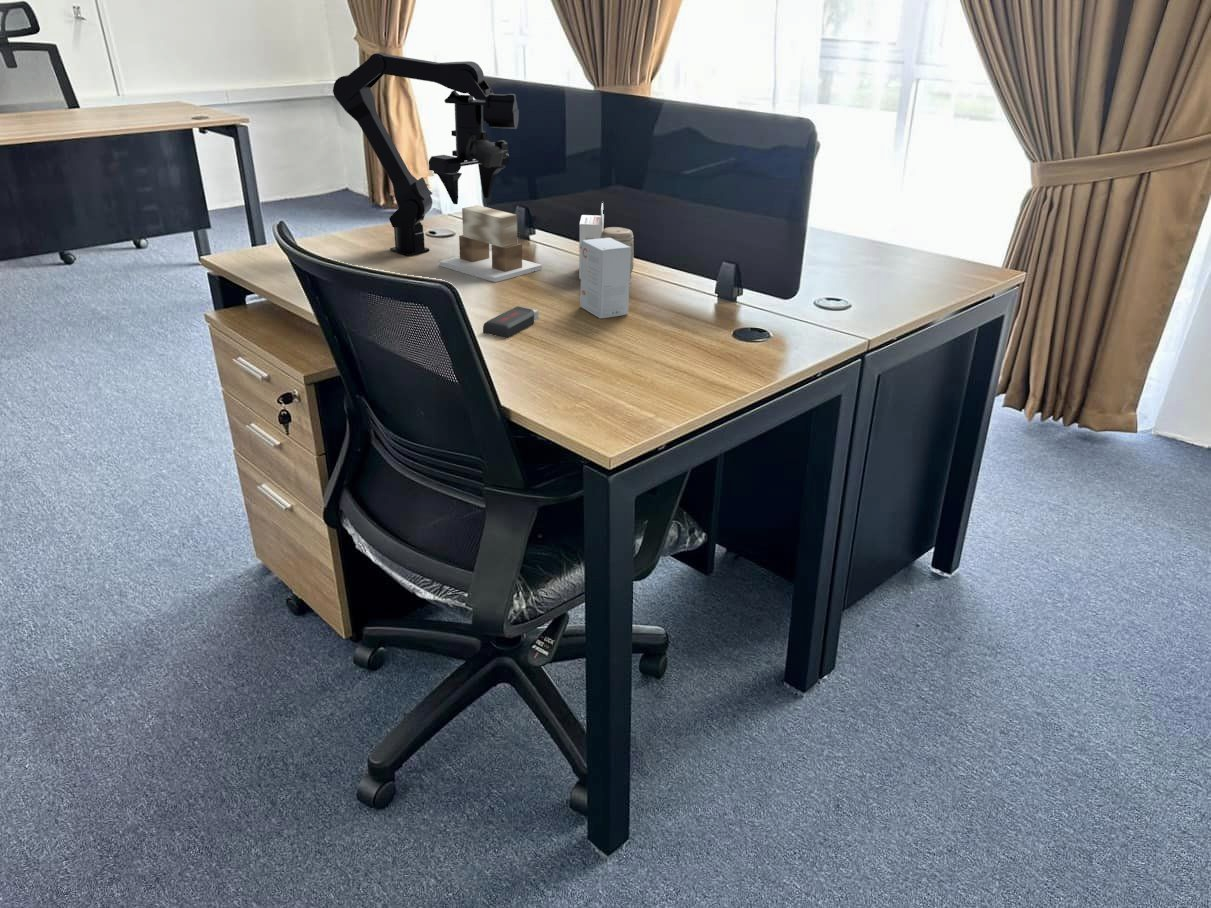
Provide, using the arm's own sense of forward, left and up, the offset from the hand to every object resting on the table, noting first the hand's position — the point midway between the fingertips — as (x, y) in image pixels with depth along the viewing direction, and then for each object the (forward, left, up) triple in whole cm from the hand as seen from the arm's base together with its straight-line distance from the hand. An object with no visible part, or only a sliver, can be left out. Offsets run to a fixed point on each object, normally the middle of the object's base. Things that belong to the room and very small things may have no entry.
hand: (471, 201), depth 206 cm
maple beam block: (+10, -4, -6) cm, 12 cm away
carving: (+38, +4, -12) cm, 40 cm away
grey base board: (+10, -4, -12) cm, 16 cm away
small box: (+46, -9, -12) cm, 48 cm away
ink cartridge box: (+28, +8, -12) cm, 32 cm away
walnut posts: (+10, -4, -12) cm, 16 cm away
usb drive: (+40, -27, -13) cm, 50 cm away
